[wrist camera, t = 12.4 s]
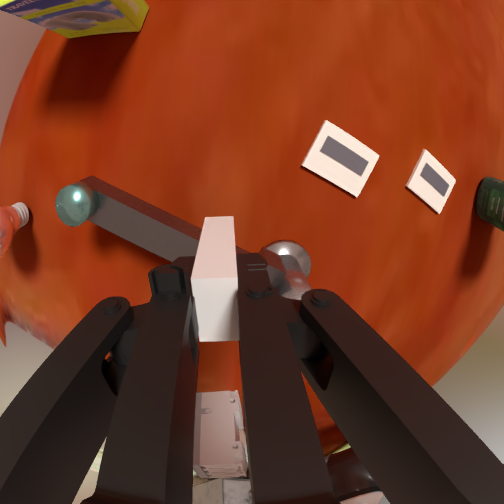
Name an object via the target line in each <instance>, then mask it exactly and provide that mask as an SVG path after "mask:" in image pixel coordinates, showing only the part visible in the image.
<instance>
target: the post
mask: <svg viewBox="0 0 504 504" xmlns="http://www.w3.org/2000/svg"><path fill="white" fill-rule="evenodd" d="M264 248H266V249H268V250H270V251H272V252H274V253H276V254H278V255H279V256H280V258H281V261H282V263H283V266H284V268H285V271H286V273H287V274H286V275H285V277H284V278H283V280H282V281H281V283H280V284H279V285H278V287H277V288H276V290H277V292H278V295H280V296H283V297H285V298H290V299H296V300H301V297H302V295H303V294H304V293H305V292H306V291H309V290H312V288H311V286H310V284H309V282H308V280H307V277H308V275H309V273H310V269H311V261H310V258H309V255H308V253H307V252H306V250H305V249H304V248H303V247H302V246H301V245H300V244H298V243H296V242H294V241H290V240H279V241H275V242H272V243H270V244H268V245H267V246H265V247H264Z"/></svg>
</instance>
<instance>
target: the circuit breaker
mask: <svg viewBox="0 0 504 504" xmlns="http://www.w3.org/2000/svg"><path fill="white" fill-rule="evenodd" d="M243 429H244V427H243V416H242V408H241V403H240V399H239V394H238V390H235V391H234V392H230V391H219V392H202V393H196V406H195V425H194V449H193V470H194V471H195V472H196V473H197V474H198V475H199V476H200V478H230V477H240V476H245V477H246V476H247V475H246V471H247V461H246V455H245V449H244V446H243V443H242V442H241V441H240V439H239V430H240V431H241V430H243Z"/></svg>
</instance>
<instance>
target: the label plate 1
mask: <svg viewBox="0 0 504 504" xmlns="http://www.w3.org/2000/svg"><path fill="white" fill-rule="evenodd" d="M378 158H379V155H378V154H377V153H375V152H374V151H372V150H371V149H370V148H368V147H367V146H365V145H364V144H362V143H361V142H360V141H358V140H357V139H355V138H354V137H352V136H351V135H349V134H348V133H346V132H344V131H343V130H341V129H340V128H338V127H337V126H335V125H333V124H332V123H330V122H329V121H327V120H325V121H324V123H323V124H322V126H321V128H320V130H319V132H318V134H317V136H316V138H315V140H314V142H313V143H312V145H311V147H310V149H309V151H308V153H307V155H306V157H305V159H304V160H303V162H302V164H301V165H302V166H304V167H306V168H308V169H309V170H311V171H313V172H315V173H317V174H318V175H320V176H322V177H324V178H325V179H327V180H329V181H331V182H332V183H334V184H336V185H338V186H339V187H341V188H343V189H344V190H346V191H348V192H349V193H351V194H353V195H354V196H356V197H358V196H359V194H360V192H361V190H362V188H363V186H364V185H365V183H366V181H367V179H368V177H369V175H370V173H371V171H372V169H373V168H374V166H375V164H376V162H377V160H378Z"/></svg>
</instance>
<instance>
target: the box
mask: <svg viewBox="0 0 504 504" xmlns="http://www.w3.org/2000/svg"><path fill="white" fill-rule="evenodd" d="M0 10H2V11H5V12H8V13H11V14H13V15H16V16H18V17H21V18H24V19H26V20H28V21H31V22H33V23H36V24H38V25H40V26H43V27H45V28H47V29H49V30H52V31H54V32H56V33H58V34H60V35H63V36H65V37H67V38H75V37H81V36H88V35H96V34H107V33H119V32H139V31H140V30H141V27H142V25H143V22H144V20H145V17H146V15H147V12H148V10H149V6H148V5H147V3H146V2H145V1H144V0H0Z"/></svg>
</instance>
